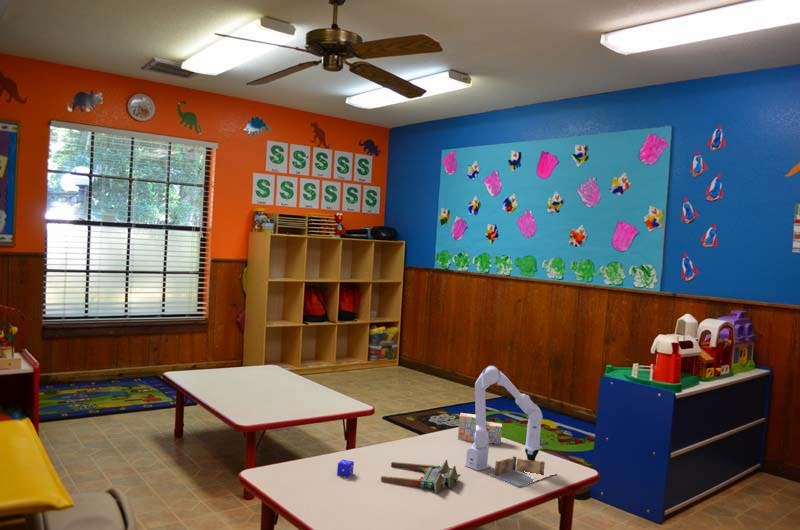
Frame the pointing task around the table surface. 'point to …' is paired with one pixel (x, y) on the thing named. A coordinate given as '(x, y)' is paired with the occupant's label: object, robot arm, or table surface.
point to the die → (345, 468)
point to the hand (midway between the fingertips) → (530, 466)
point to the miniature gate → (426, 476)
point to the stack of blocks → (469, 427)
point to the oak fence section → (530, 466)
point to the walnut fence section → (505, 466)
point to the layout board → (514, 477)
